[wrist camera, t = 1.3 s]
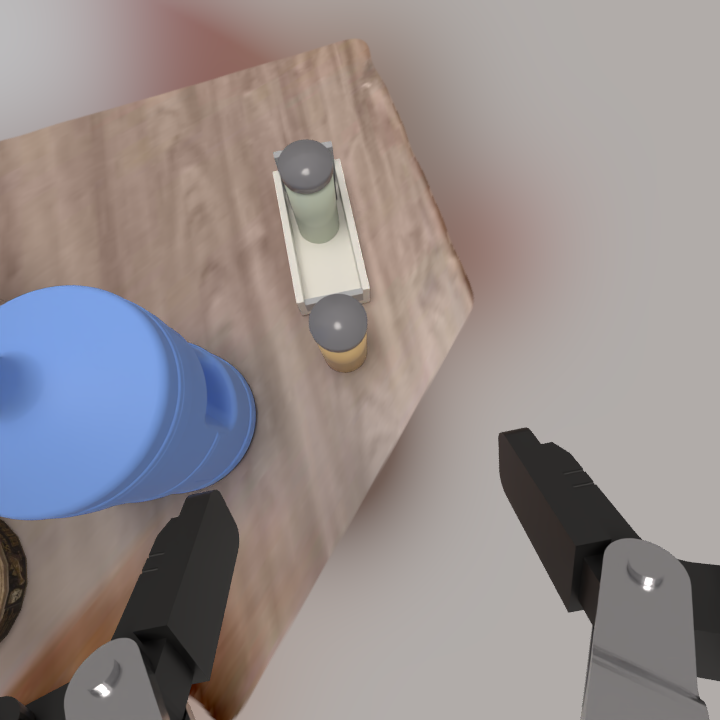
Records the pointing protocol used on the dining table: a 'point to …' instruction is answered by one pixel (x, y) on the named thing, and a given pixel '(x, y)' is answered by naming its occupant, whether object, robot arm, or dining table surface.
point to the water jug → (109, 406)
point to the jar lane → (324, 250)
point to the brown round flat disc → (11, 578)
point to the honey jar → (340, 331)
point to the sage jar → (310, 189)
